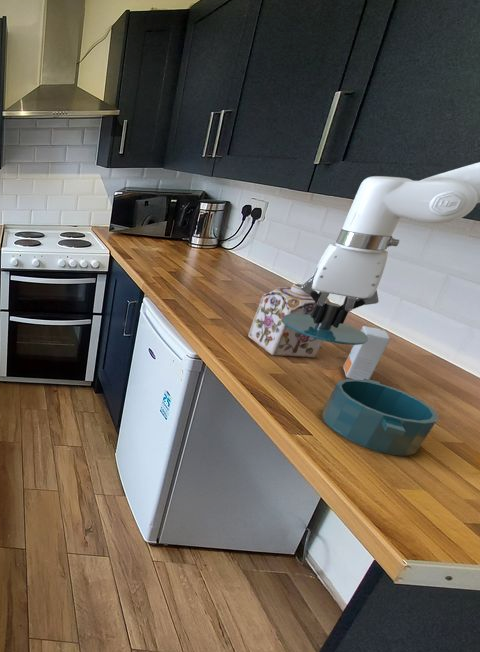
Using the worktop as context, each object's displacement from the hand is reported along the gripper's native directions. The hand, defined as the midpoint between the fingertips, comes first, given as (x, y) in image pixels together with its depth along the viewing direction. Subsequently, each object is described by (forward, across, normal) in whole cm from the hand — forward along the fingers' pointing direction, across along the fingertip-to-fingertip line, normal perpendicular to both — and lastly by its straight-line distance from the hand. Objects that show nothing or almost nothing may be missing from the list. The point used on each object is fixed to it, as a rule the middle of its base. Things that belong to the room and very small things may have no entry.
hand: (325, 322), depth 88 cm
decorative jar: (+16, +3, -20) cm, 26 cm away
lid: (+2, 0, 0) cm, 2 cm away
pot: (+16, -10, +14) cm, 23 cm away
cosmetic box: (+16, -12, -13) cm, 24 cm away
